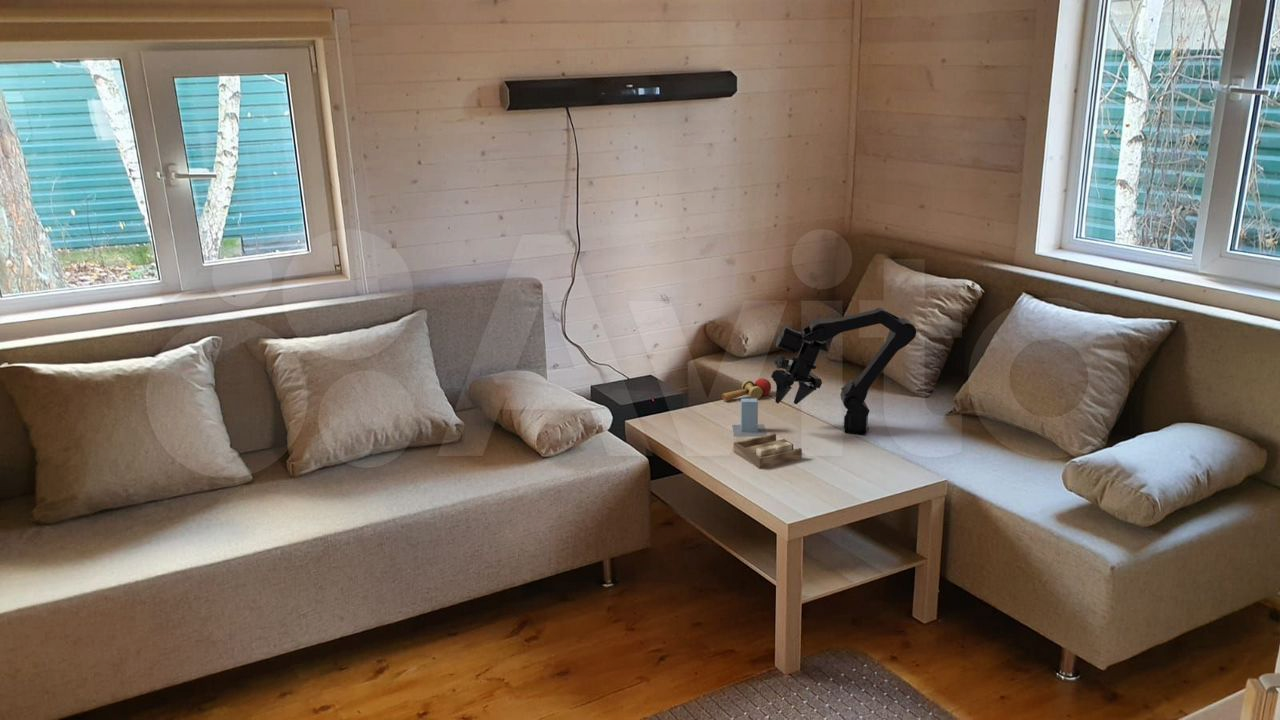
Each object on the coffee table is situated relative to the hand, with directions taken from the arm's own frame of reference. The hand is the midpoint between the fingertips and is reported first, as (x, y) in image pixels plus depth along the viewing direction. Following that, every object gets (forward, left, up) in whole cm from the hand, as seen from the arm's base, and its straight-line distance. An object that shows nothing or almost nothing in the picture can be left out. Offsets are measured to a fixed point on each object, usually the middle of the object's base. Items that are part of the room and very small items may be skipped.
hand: (786, 403), depth 296 cm
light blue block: (+10, +4, -9) cm, 14 cm away
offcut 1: (-1, +27, -9) cm, 29 cm away
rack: (0, +22, -9) cm, 24 cm away
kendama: (+20, -26, -10) cm, 35 cm away
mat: (+10, +4, -9) cm, 15 cm away
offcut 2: (-5, +23, -9) cm, 25 cm away
